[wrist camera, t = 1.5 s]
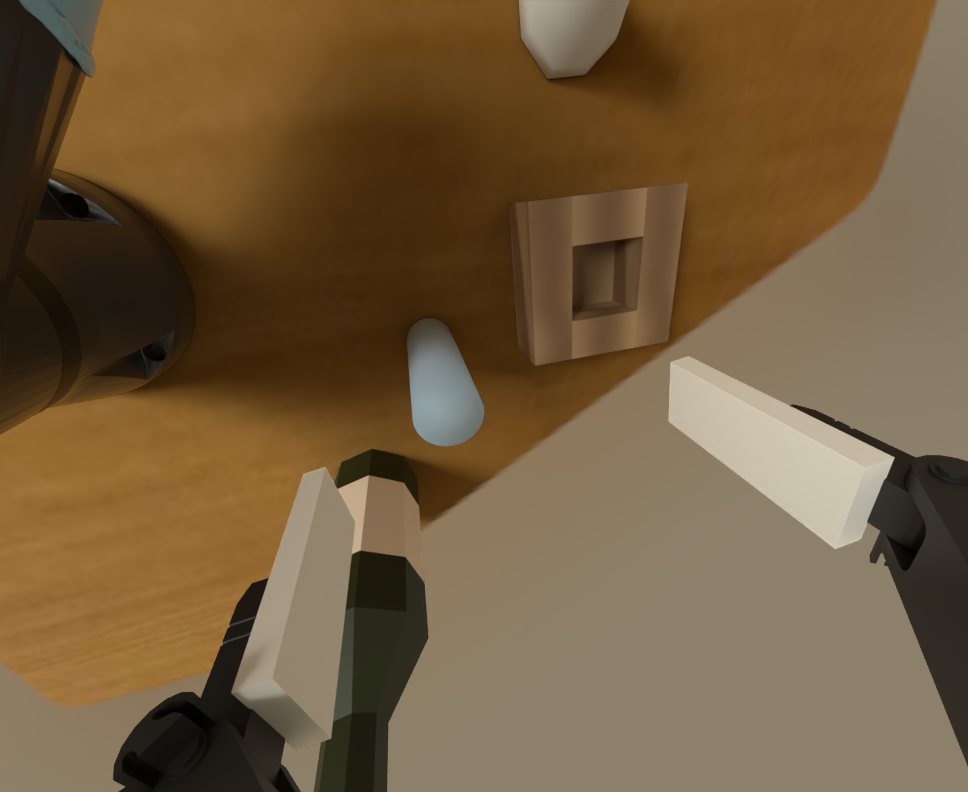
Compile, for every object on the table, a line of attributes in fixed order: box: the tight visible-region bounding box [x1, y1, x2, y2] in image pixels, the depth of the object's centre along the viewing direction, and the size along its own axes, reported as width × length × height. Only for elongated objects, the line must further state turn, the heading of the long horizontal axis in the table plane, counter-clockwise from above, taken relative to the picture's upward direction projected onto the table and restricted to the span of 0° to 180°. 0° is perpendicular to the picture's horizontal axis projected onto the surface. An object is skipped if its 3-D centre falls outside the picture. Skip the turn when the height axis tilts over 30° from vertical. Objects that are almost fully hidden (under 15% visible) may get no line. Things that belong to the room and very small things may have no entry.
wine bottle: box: [314, 449, 428, 792], centre depth 25 cm, size 8×8×30 cm
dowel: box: [407, 318, 484, 446], centre depth 27 cm, size 4×4×14 cm
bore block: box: [509, 183, 688, 366], centre depth 31 cm, size 12×12×5 cm
